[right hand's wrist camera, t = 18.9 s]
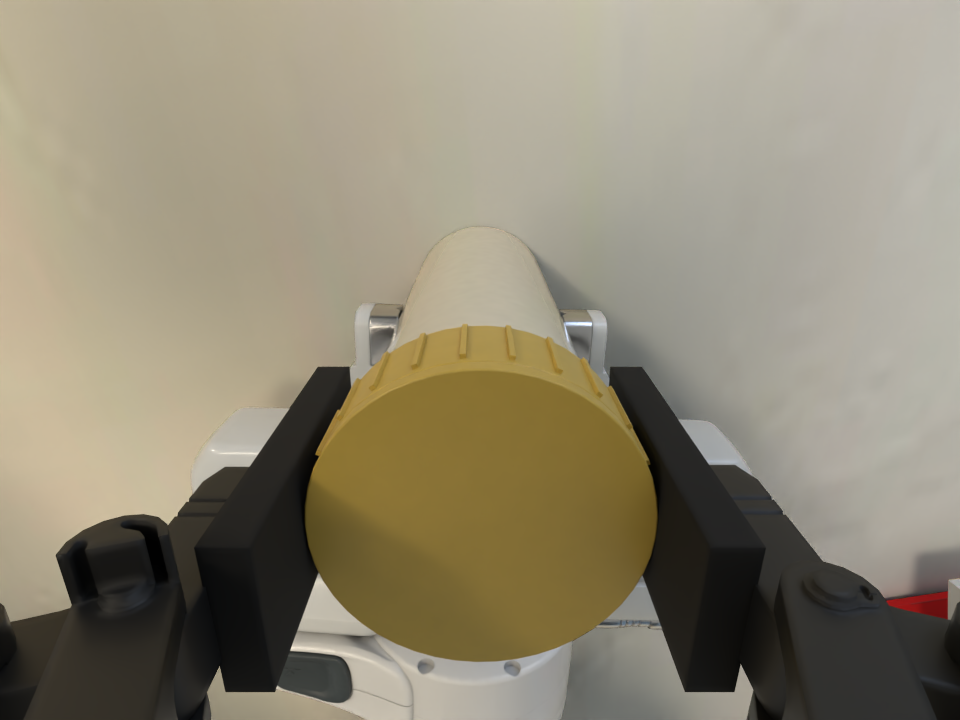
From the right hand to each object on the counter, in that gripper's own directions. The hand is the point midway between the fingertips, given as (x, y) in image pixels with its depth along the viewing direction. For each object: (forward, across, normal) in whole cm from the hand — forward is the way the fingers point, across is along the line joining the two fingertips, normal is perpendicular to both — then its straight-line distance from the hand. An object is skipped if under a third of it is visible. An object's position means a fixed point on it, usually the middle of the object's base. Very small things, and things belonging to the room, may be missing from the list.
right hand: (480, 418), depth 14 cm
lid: (-4, 0, 0) cm, 4 cm away
